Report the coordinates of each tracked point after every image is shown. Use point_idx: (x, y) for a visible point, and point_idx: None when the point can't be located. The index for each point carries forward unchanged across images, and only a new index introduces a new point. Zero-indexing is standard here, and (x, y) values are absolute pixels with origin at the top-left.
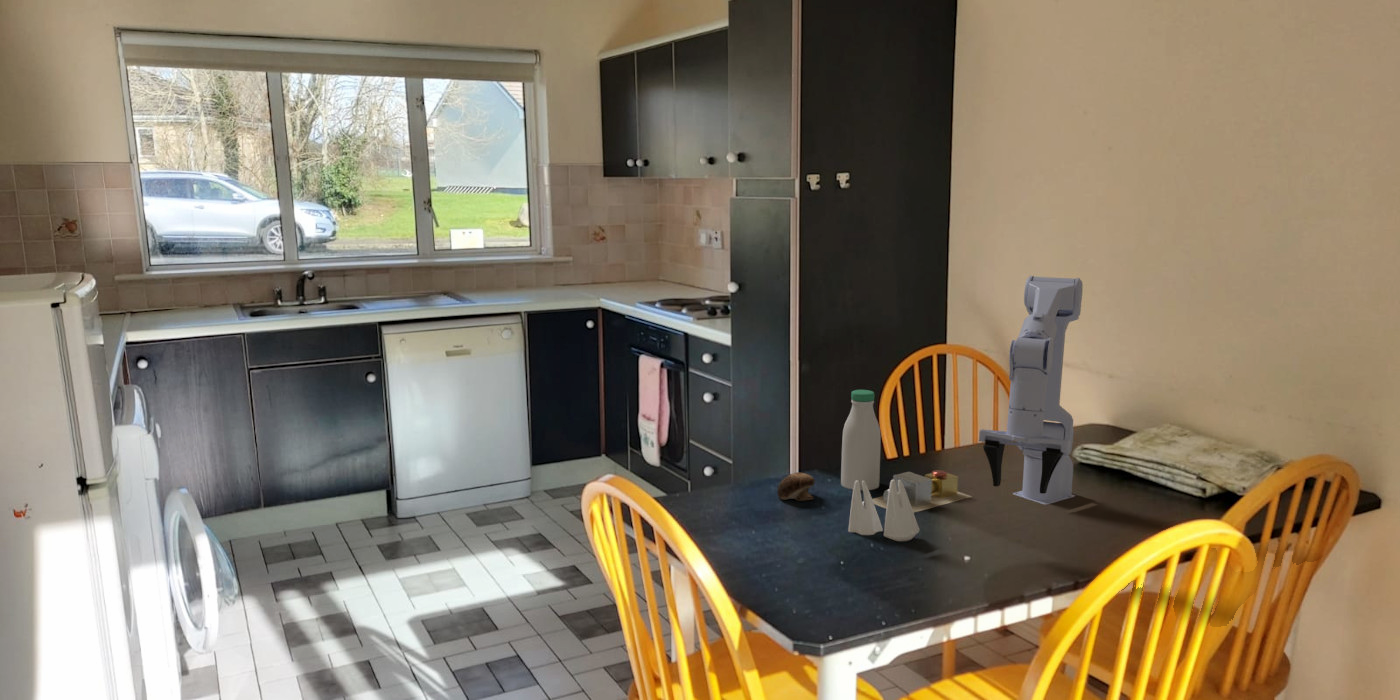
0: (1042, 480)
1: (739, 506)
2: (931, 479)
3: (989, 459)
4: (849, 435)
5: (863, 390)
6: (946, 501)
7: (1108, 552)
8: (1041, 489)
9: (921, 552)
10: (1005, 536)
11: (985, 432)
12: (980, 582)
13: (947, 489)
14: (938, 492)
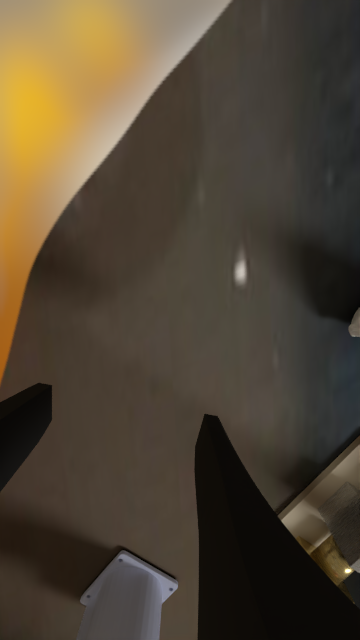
0: (3, 410)
1: None
2: (350, 566)
3: (278, 526)
4: None
5: None
6: (289, 522)
7: (7, 384)
8: (35, 390)
9: (328, 268)
10: (177, 401)
11: None
12: (209, 149)
13: None
14: (309, 549)
